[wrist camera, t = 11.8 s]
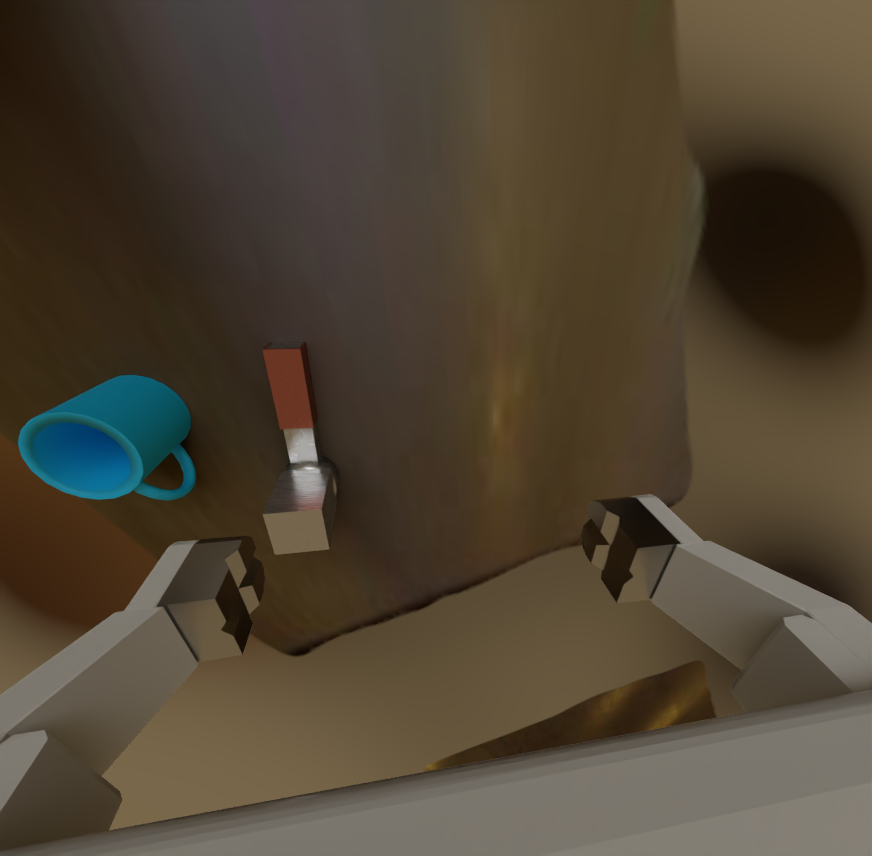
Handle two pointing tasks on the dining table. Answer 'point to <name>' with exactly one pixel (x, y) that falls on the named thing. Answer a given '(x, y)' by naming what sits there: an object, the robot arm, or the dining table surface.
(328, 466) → the ratchet
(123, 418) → the mug
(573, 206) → the dining table surface
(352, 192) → the dining table surface
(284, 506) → the brushed steel block
